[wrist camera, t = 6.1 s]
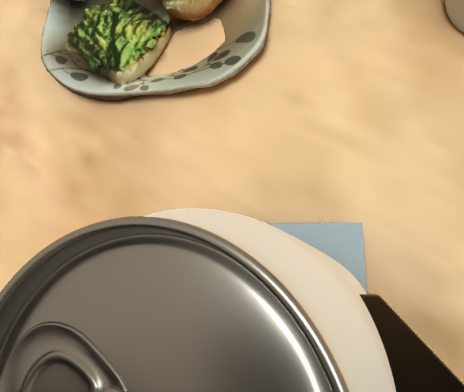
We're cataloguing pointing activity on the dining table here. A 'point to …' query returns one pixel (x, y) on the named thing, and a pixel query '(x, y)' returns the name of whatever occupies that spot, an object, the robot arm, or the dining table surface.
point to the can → (187, 312)
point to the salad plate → (144, 43)
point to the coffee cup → (456, 12)
